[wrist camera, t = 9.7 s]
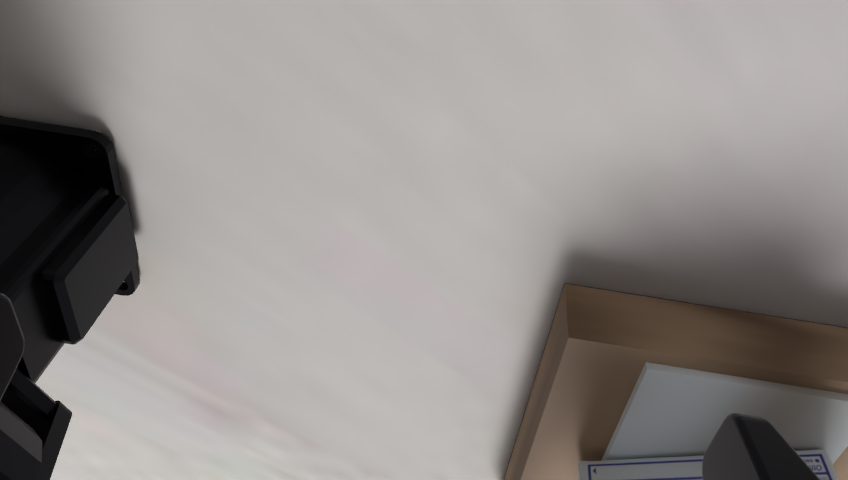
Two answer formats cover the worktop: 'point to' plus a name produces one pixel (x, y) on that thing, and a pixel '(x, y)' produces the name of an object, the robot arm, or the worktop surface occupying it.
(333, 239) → the worktop surface
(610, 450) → the brown open-top box
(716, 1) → the worktop surface
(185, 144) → the worktop surface
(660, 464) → the medicine box
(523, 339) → the worktop surface
